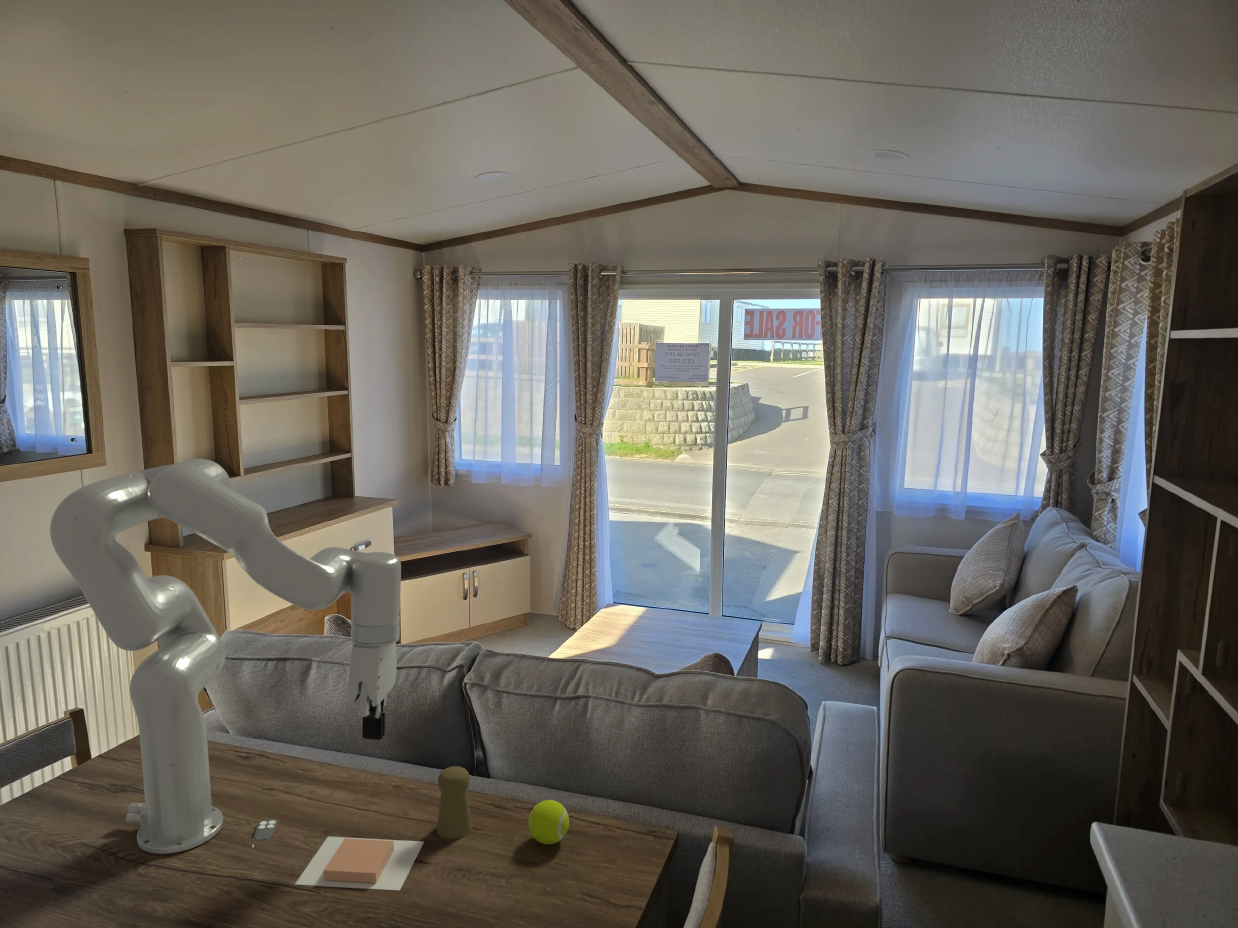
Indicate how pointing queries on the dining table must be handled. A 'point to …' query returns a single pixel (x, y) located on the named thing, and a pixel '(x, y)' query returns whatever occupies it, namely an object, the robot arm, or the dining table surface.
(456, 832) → the cork
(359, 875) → the tile
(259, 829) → the key chain
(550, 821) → the tennis ball
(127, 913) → the dining table surface
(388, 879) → the mat
